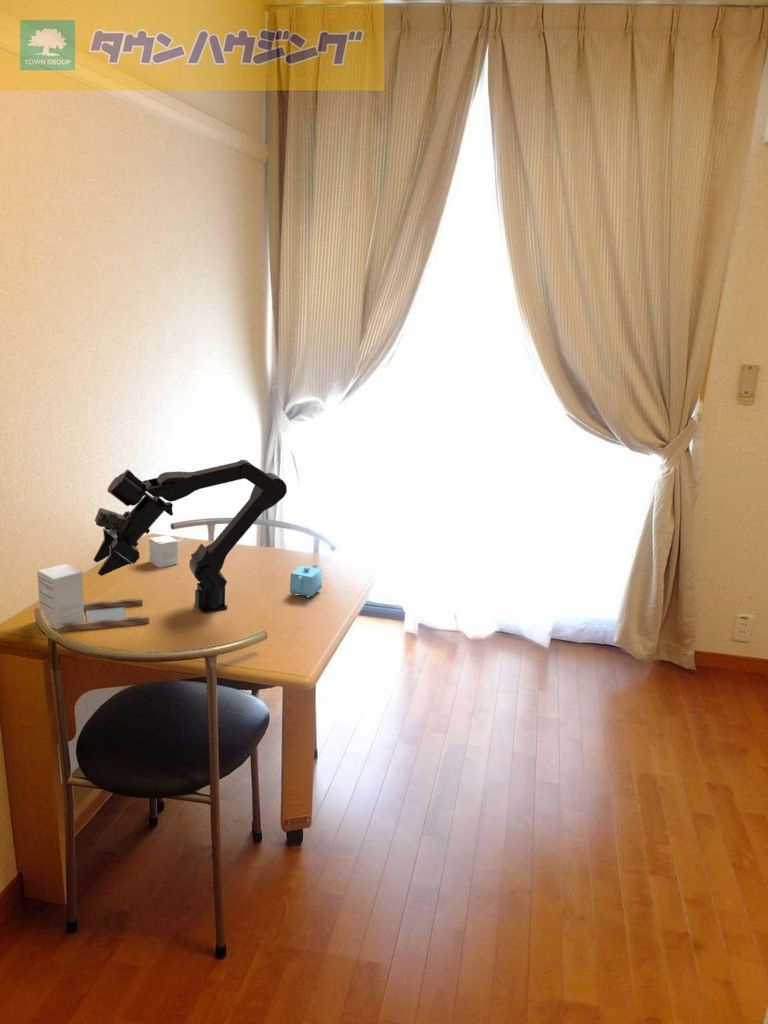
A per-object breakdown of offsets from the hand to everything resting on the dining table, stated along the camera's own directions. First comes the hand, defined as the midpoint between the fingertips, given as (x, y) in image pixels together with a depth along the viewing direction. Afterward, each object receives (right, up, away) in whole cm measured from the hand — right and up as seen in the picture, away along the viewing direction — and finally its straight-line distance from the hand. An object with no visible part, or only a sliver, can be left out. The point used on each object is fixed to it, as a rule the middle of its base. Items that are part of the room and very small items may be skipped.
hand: (97, 567), depth 190 cm
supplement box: (-8, -13, +1) cm, 15 cm away
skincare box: (+4, -2, +42) cm, 43 cm away
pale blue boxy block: (+46, -9, +29) cm, 55 cm away
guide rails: (0, -12, +4) cm, 13 cm away
